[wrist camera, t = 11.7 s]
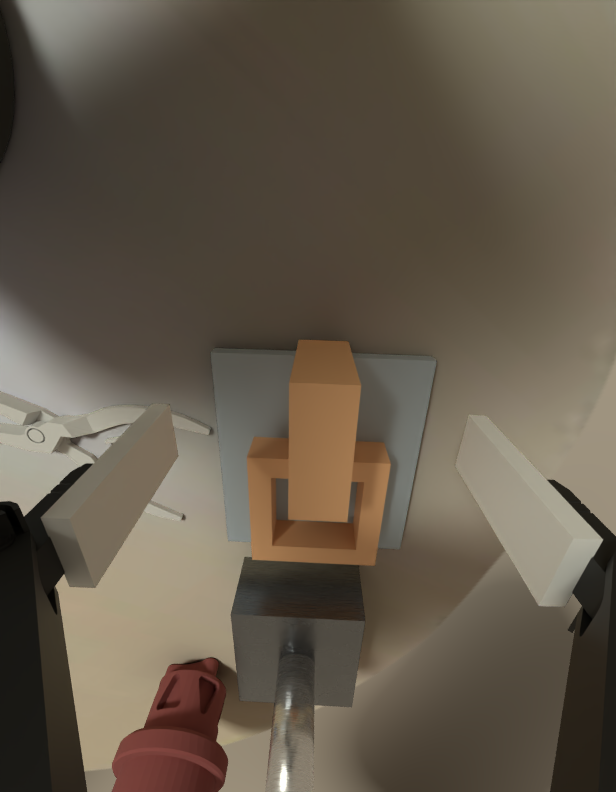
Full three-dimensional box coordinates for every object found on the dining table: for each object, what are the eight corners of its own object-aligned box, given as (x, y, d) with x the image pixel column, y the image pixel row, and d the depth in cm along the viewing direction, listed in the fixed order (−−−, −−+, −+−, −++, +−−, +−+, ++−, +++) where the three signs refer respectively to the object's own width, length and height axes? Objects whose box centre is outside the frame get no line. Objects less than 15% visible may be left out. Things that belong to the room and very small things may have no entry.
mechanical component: (136, 670, 37) (185, 630, 34) (209, 704, 40) (261, 671, 37) (57, 852, 26) (119, 819, 23) (166, 884, 29) (236, 858, 26)
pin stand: (244, 557, 30) (194, 766, 18) (358, 562, 29) (383, 777, 18) (250, 640, 34) (213, 847, 23) (347, 645, 34) (362, 856, 22)
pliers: (175, 531, 27) (-21, 471, 25) (183, 517, 28) (-2, 458, 27) (206, 433, 23) (-23, 353, 21) (213, 422, 25) (-1, 346, 23)
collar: (249, 337, 20) (217, 379, 14) (397, 343, 20) (434, 388, 14) (258, 533, 27) (238, 622, 21) (370, 538, 27) (385, 630, 20)
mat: (214, 347, 22) (210, 352, 21) (431, 356, 22) (436, 361, 21) (231, 531, 28) (228, 541, 27) (397, 539, 28) (399, 549, 27)
